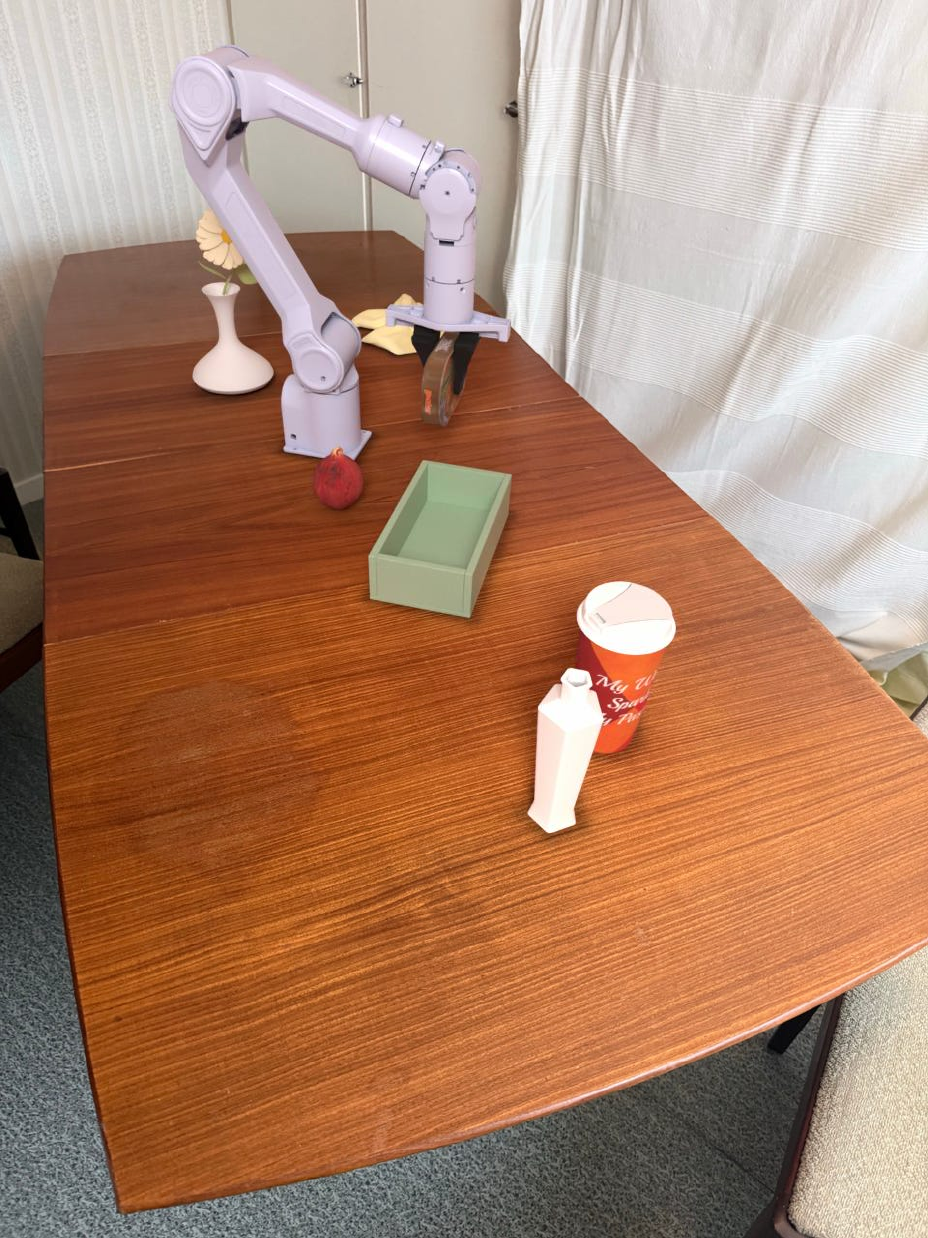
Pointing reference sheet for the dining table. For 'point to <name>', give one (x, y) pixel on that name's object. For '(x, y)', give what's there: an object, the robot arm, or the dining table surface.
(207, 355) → the flower in vase
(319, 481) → the pomegranate
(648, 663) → the paper cup
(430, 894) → the dining table surface
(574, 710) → the white tall faceted bottle
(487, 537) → the open rectangular box
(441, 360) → the tin
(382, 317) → the cloth
